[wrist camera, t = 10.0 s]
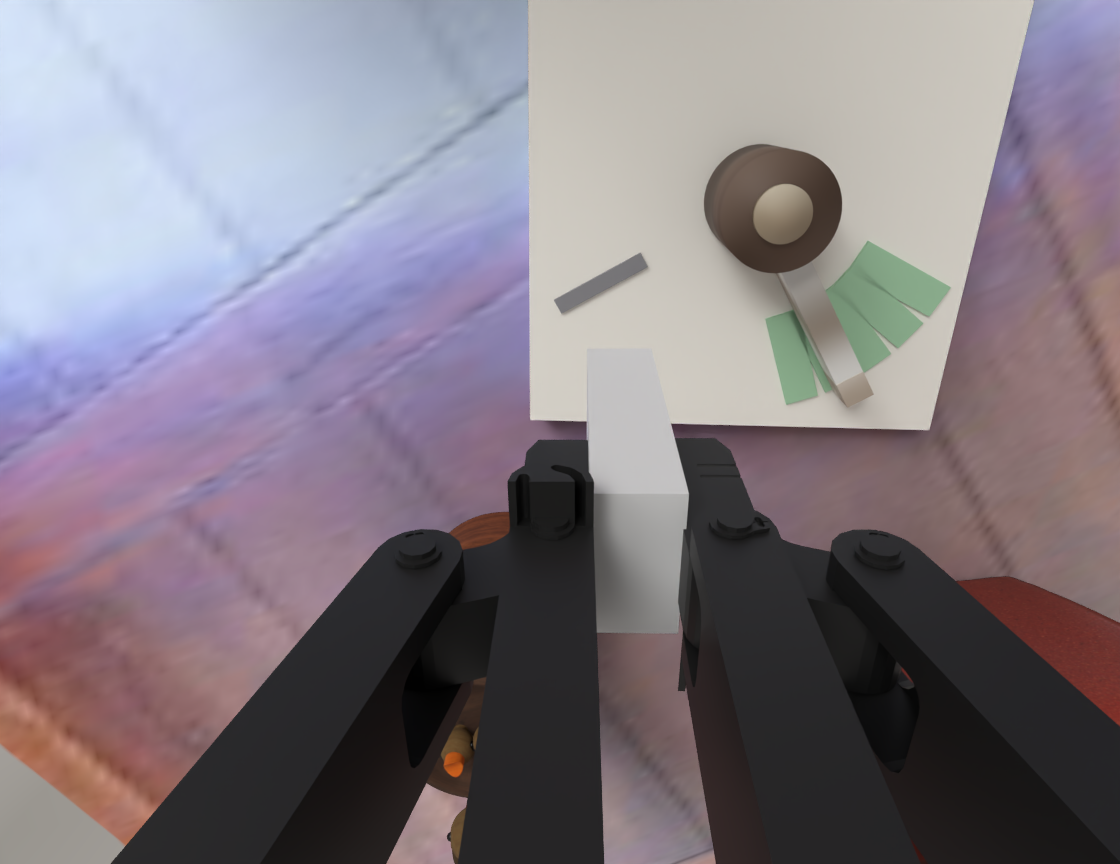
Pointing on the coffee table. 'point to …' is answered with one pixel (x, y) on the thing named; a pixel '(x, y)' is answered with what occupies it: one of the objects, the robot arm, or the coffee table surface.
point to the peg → (787, 242)
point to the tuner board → (724, 127)
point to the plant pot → (1057, 637)
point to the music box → (461, 744)
